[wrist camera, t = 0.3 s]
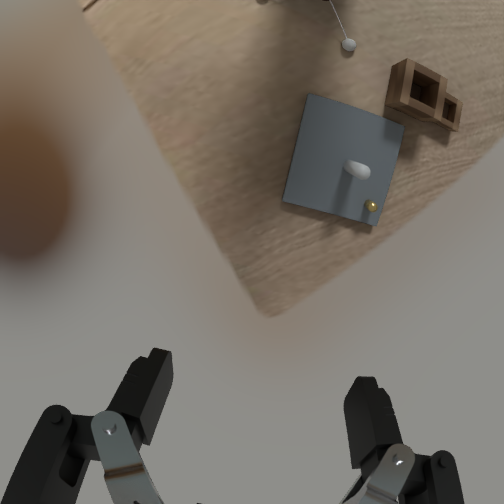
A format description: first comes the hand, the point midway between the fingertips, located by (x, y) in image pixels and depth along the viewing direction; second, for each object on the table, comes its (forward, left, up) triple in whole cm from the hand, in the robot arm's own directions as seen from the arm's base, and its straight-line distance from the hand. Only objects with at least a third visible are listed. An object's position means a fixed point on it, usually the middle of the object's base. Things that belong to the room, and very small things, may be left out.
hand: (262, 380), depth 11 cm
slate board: (-9, +7, -28) cm, 30 cm away
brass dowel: (-4, +12, -27) cm, 29 cm away
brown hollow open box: (-21, +16, -28) cm, 38 cm away
